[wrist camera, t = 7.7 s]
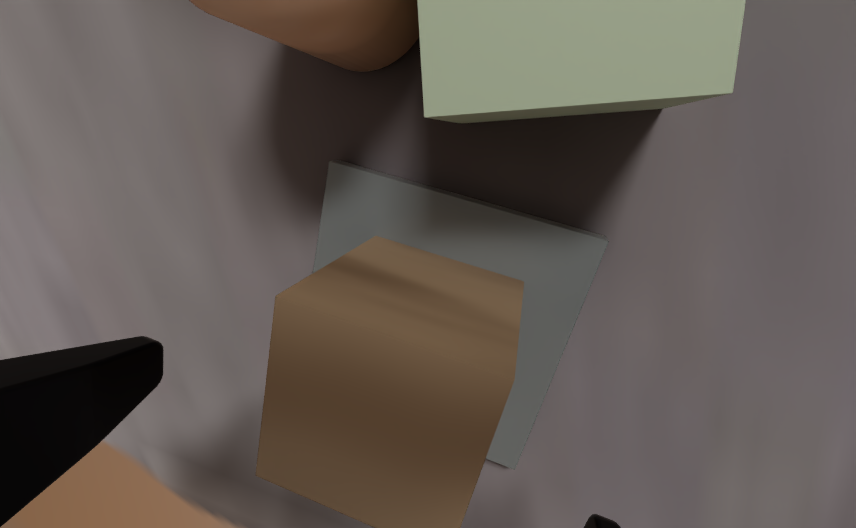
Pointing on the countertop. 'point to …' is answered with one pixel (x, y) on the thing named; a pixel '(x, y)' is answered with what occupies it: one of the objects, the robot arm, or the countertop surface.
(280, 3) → the dome-topped tan cylinder
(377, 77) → the countertop surface
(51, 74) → the countertop surface
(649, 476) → the countertop surface
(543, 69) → the sage block
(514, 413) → the slate coaster
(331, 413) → the walnut block
